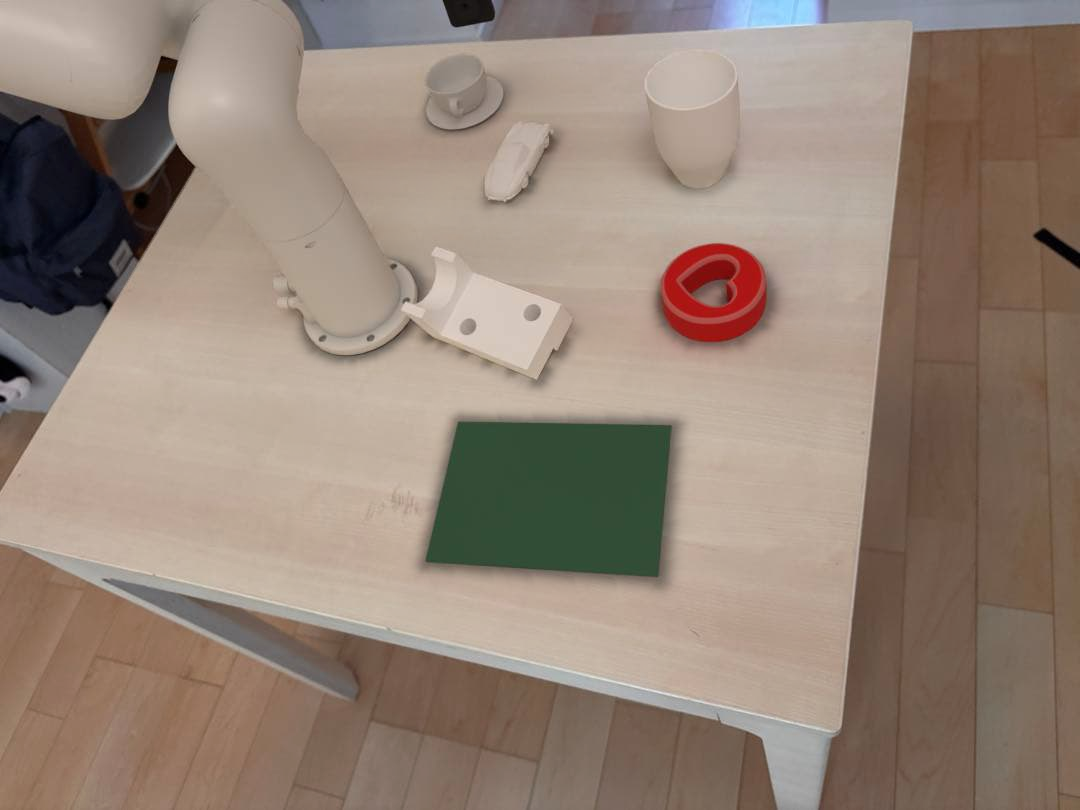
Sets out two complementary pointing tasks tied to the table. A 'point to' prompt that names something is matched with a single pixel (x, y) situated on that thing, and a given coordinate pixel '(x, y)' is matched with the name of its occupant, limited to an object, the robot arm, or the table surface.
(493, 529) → the cloth mat
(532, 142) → the toy car
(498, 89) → the teacup
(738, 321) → the decorative ornament
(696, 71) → the mug
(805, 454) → the table surface
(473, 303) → the bracket
